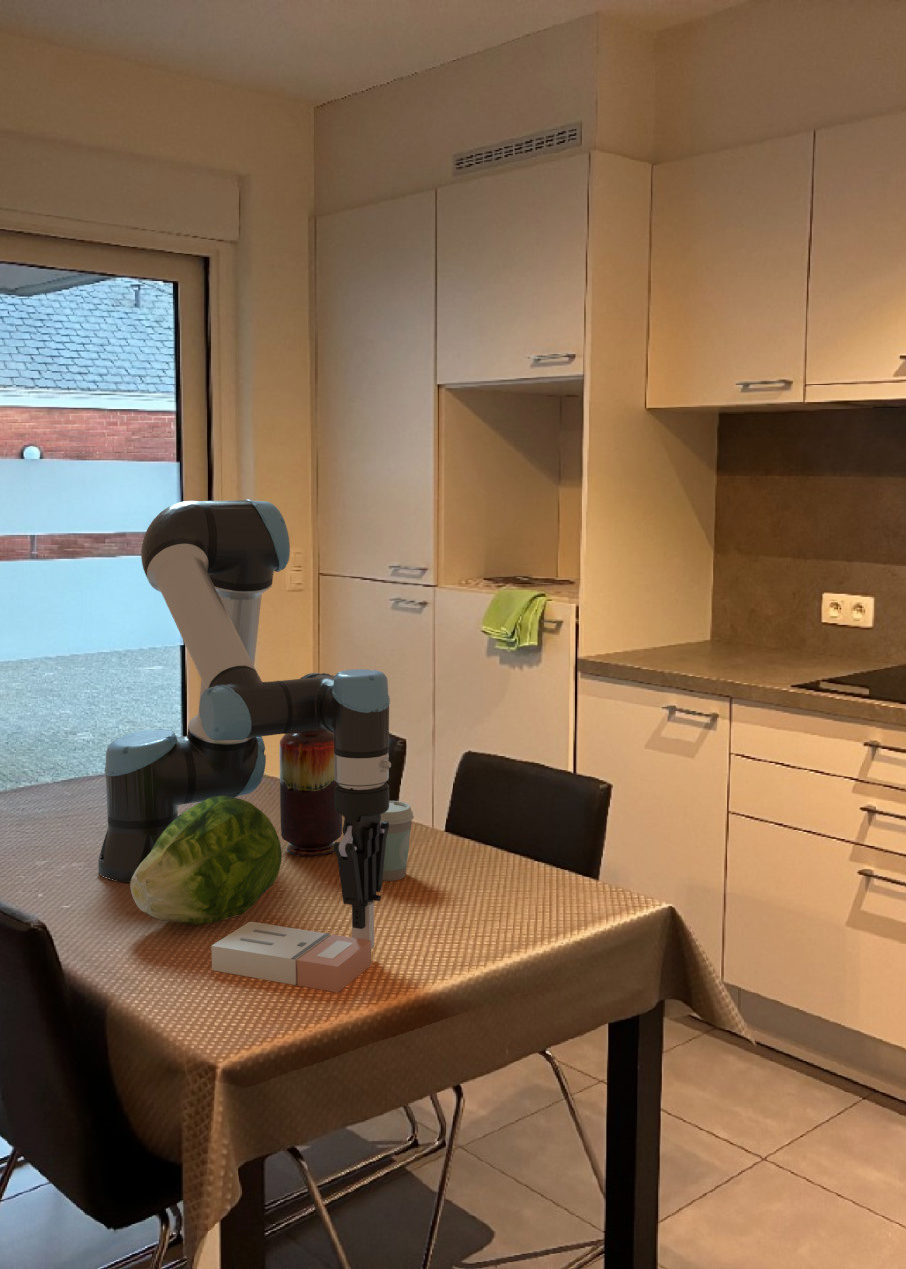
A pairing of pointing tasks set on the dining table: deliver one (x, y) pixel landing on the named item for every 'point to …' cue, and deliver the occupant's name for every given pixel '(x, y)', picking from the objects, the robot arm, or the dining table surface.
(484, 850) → the dining table surface
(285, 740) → the vase
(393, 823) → the coffee cup
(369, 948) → the stub
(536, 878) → the dining table surface
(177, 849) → the lettuce
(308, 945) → the two-slot toaster
